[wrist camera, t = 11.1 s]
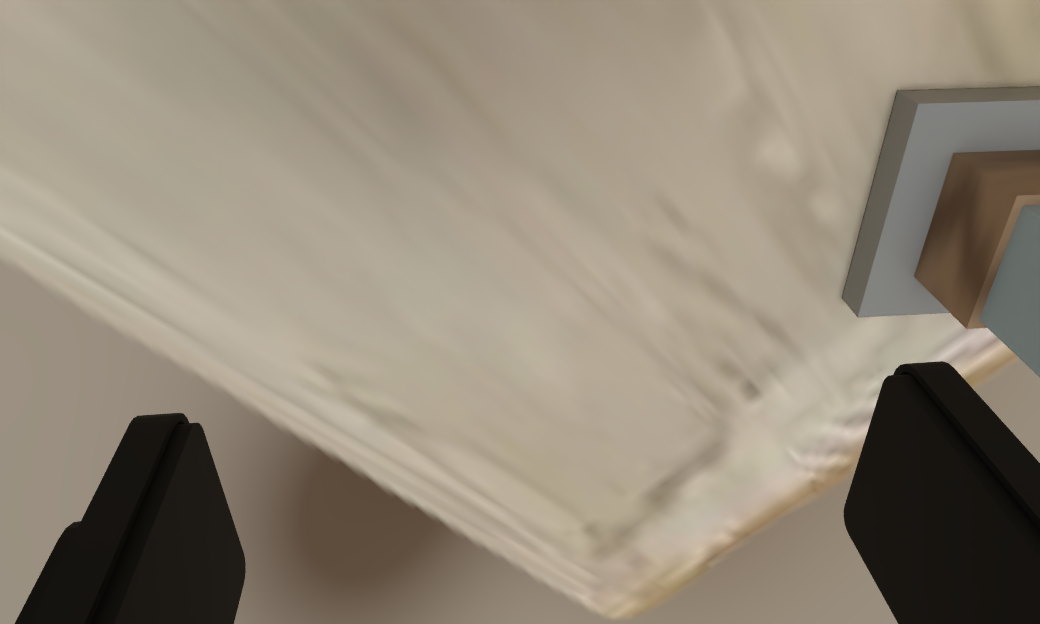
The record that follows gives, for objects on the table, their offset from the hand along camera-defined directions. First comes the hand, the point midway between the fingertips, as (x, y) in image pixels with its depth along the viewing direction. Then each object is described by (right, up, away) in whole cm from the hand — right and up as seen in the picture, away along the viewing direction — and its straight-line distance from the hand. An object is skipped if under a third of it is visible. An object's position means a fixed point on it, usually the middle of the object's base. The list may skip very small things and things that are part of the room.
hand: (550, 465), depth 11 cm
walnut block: (+24, +7, +29) cm, 38 cm away
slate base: (+24, +8, +31) cm, 40 cm away
